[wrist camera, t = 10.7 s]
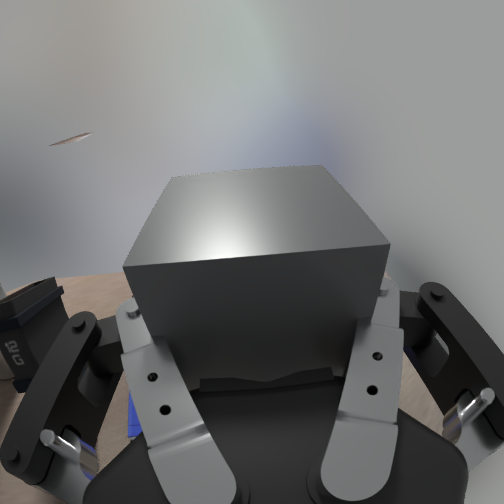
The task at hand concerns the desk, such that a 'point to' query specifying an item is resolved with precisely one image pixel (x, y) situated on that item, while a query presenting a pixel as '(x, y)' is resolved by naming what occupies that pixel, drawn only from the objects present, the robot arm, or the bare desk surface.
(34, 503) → the desk surface
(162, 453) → the robot arm
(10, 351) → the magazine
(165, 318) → the cube cover
